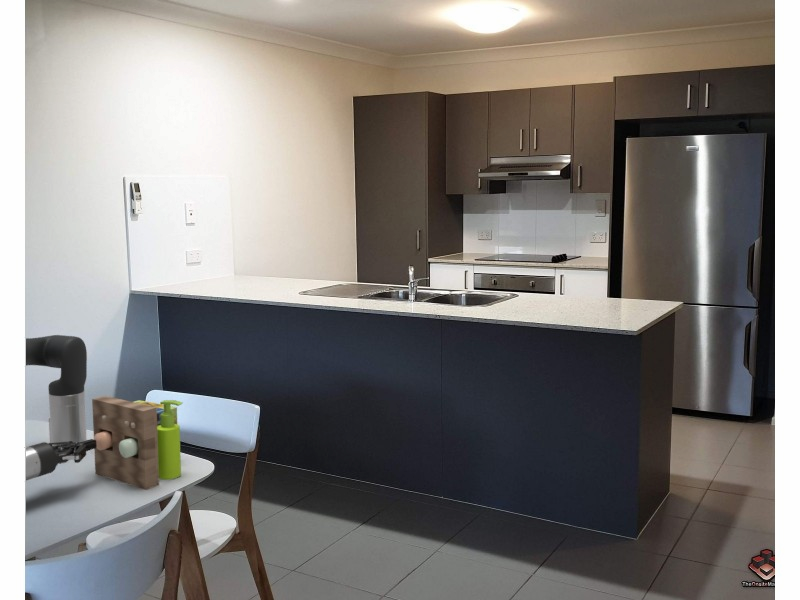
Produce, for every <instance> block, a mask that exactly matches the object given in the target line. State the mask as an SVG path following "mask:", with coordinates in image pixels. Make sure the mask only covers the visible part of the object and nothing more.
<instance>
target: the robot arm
mask: <svg viewBox="0 0 800 600" xmlns="http://www.w3.org/2000/svg"><path fill="white" fill-rule="evenodd" d="M25 338H26V337H25ZM87 363H88V353H87V347H86V344H85V341H84V340H83V339H82V338H81V337H79V336H75V335H74V336H73V335H63V334H62V335H60V334H54V335H47V336H40V337H39V336H38V337H32V338H29V337H27V338H26V366H25V367H27V366H42V367H46V368H47V367H49V368H53V369H60V378H58V379H55V380H53V381H51V382H50V383H49V384H48V402H49V403H48V405H49V417H48V430H49V431H48V432H49V433H48V435H49V442H45V441H44V442H43V441H42V442H39V443H35V444H32V445H29V446H25V447H26V481H29V480H33V479H36V478H39V477H42V476H45V475H49V474H51V473H53V472H54V471H55V470H56V468H57V466H58V465H59V464H60V465H61V464H65V463H68V462H69V461H72V460H73V461H74V464H75V463H77V464H78V463H80V462H81V461H82V460H83V459H84V458H85V457H86V456H87V452H88V451H91V450H94V449H95V448H96V447H97V444H96V440H94V438H90V439H87V420H86V419H87V417H86V399H85V398H86V396H85V384H86V381H87V373H88V371H87V368H88V367H87V366H88V365H87ZM26 481H25V482H26Z"/></svg>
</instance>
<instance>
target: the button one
mask: <svg viewBox="0 0 800 600" xmlns="http://www.w3.org/2000/svg"><path fill="white" fill-rule="evenodd" d="M93 440H96V444H97V447H96V448H97V449H98V450H104V449H107V448H111V447H113V442H112V432H111V431H104V432H101V433H97V434H96V435H95V436H94V435H93Z"/></svg>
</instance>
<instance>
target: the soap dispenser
mask: <svg viewBox="0 0 800 600" xmlns="http://www.w3.org/2000/svg"><path fill="white" fill-rule="evenodd" d="M159 404H162V405H164V412H163V413H161V425H159V426H157V438H158V468H159V480H164V481H165V480H174V478H175V479H177V477H178V478H180V477H181V476H182V467H181V466H182V464H181V463H182V462H181V433H180V432H181V431H180V429H181V428H180V425H179V424H178V423H177V424H175V423H174V413H173V412H171V406H172V405H173V406H176V407H179V406H181V405H183V401H179V400H173V399H165V400H162V401H160V403H159ZM180 475H181V476H180ZM179 476H180V477H179Z"/></svg>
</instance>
